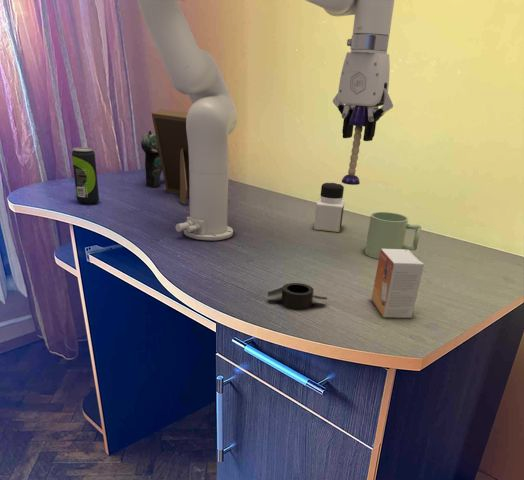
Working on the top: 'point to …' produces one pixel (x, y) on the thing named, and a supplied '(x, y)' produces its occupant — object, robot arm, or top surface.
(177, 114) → the photo frame
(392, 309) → the small box
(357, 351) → the top surface
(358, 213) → the top surface
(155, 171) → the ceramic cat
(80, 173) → the beverage can
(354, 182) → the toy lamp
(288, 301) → the black ring with tabs
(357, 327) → the top surface
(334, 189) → the medicine bottle
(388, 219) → the mug
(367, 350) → the top surface
